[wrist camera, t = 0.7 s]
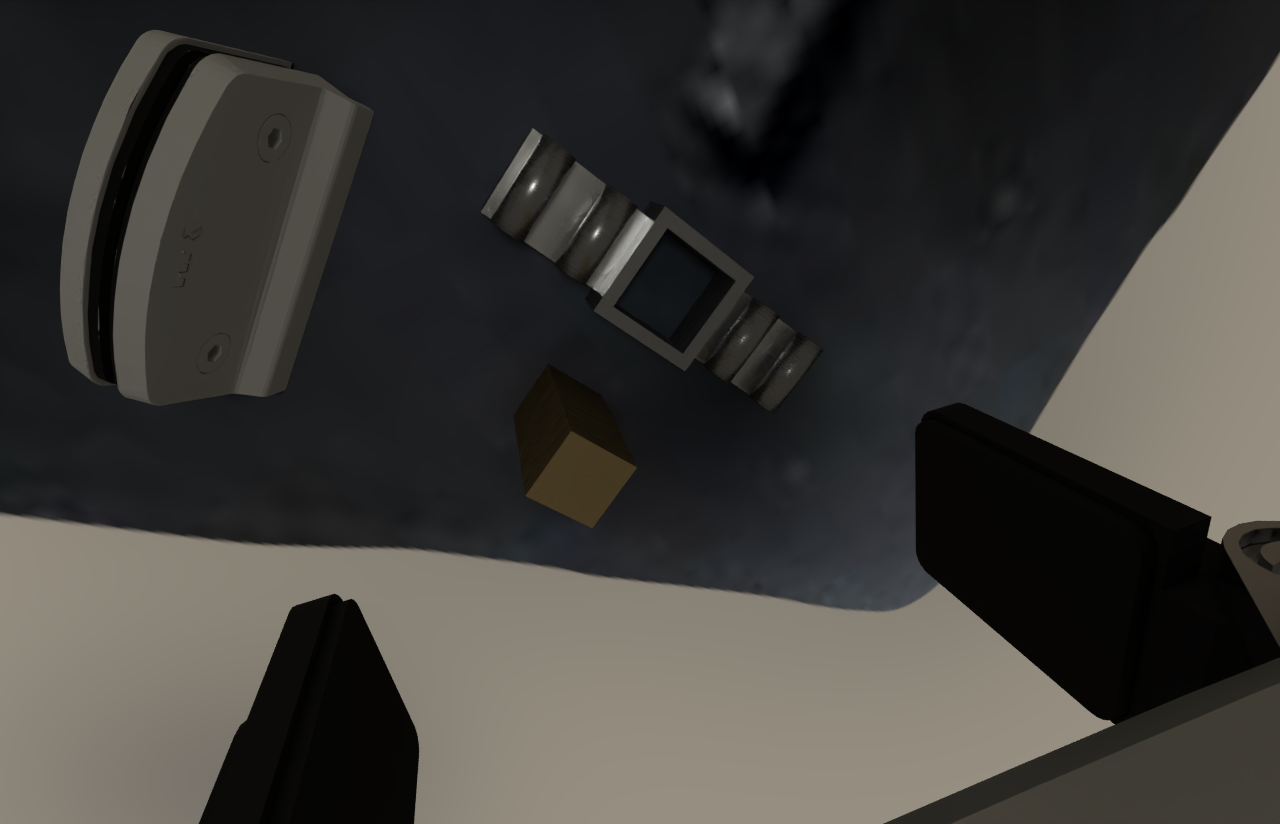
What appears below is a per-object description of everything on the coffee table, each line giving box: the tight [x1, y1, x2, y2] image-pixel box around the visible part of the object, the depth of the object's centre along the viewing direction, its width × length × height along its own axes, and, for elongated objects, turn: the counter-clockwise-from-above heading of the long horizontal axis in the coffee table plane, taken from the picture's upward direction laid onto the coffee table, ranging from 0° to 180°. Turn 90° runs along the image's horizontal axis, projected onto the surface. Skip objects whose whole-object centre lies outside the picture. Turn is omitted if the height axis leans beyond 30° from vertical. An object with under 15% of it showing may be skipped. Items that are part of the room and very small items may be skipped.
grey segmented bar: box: [481, 128, 823, 414], centre depth 36 cm, size 7×22×4 cm, turn 54°
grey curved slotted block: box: [60, 30, 374, 406], centre depth 28 cm, size 17×5×10 cm, turn 154°
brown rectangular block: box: [513, 364, 637, 528], centre depth 35 cm, size 4×4×10 cm
